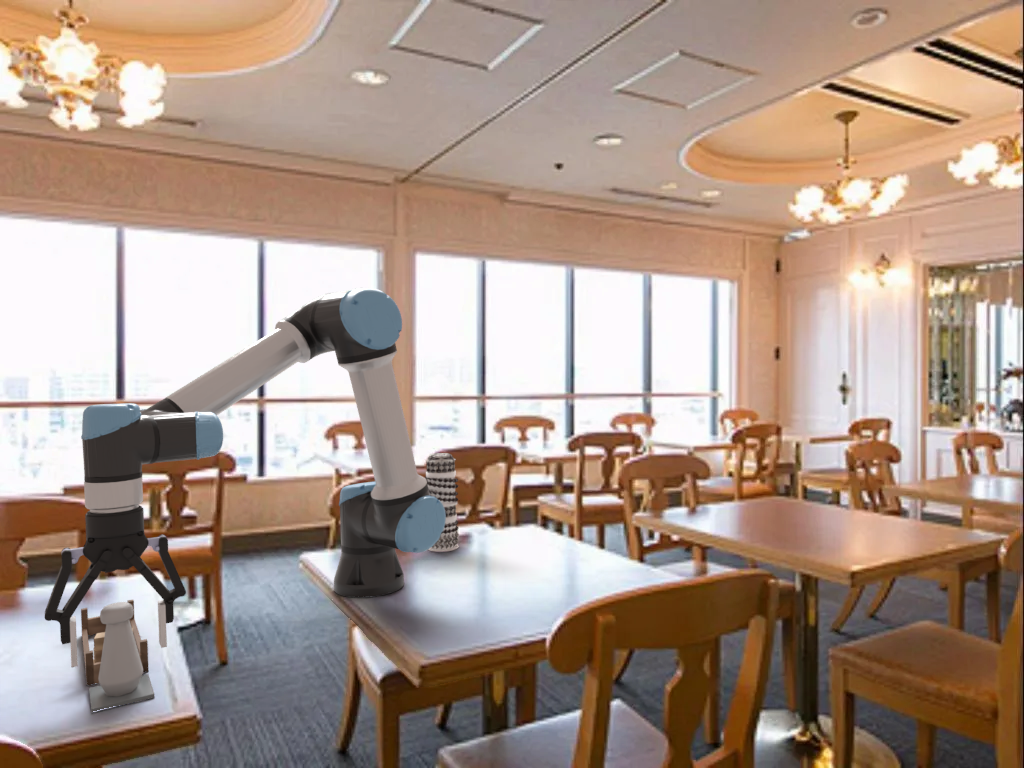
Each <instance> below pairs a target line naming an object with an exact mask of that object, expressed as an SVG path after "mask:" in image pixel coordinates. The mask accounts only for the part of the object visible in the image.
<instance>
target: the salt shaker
mask: <svg viewBox="0 0 1024 768" xmlns="http://www.w3.org/2000/svg"><path fill="white" fill-rule="evenodd" d="M99 616H100V620H101V622H102V624H106V630H105V637H104V644H103V650H102V657H101V664H100V671H99V678H98V680H99V683H98V684H99V686H100V685H101V687H102V688H103V690H104V692H105V694H106V695H107V696H115V697H118V696H122V695H125V694H128V693H131V692H132V691H134V690H135V689H136V688H137V687H138V684H139V682H140V679H141V676H143V675H144V673H143V667H142V663H141V659H140V656H139V652H138V649H137V645H136V642H135V638H134V635H133V631H132V628H131V624H130V620H129V619H131V618H132V617H133V606H132V605H131V604H130V603H128V602H126V601H118V602H114V603H110V604H107V605H106V606H103V608H102V609H101V610H100V614H99Z"/></svg>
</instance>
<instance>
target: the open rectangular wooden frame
mask: <svg viewBox="0 0 1024 768" xmlns="http://www.w3.org/2000/svg"><path fill="white" fill-rule="evenodd" d="M127 602H128V603H130V604H131V605H132V606H133V617H132V618H131V619H129V620H130V624H131V628H133V635H134V638H135V642H136V645H137V649H138V652H139V656H140V659H141V663H142V667H143V674H145V673H149V648H148V647H149V646H148V645H149V644H148V639H147V638H145V639H142V637H141V635H140V632H139V628H138V625H137V622H136V620H135V619H136V618H135V600H134V599H128V600H127ZM88 614H89V612H88V607H85V608H80V621H81V640H82V641H83V642H82V650H83V661H84V662H85V663H84V673H85V681H86V686H87V685H89V686H92V685H91V684H93V685H96V684H95V683H97V684H100V683H99V680H98V678H99V671H100V664H101V662H97V663H93V659H94V649H93V650H90V644H89V643H90V642H89V636H88V635H90V636H93V634H95V635H96V634H97V633H102V632H105V630H106V624H102V622H101V620H100V615H99V616H94V617H92V616H91V617H89V616H88Z"/></svg>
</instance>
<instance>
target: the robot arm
mask: <svg viewBox="0 0 1024 768" xmlns="http://www.w3.org/2000/svg"><path fill="white" fill-rule="evenodd" d="M402 329H403V319H402V313H401V311H400V309H399V306H398V305H397V302H396V301H394V299H393V298H392V297H391V296H390V295H389V294H387V293H385V292H384V291H382V290H380V289H378V288H369V287H368V288H367V287H365V288H363V287H360V288H357V287H356V288H354V289H353V288H352V289H349V290H343V291H336V292H328V293H325V294H322V295H320V296H318V297H316V298H313V299H312V300H310V301H309V302H307V303H306V304H304V305H302V306H300V307H299V308H297V309H295V311H293V312H292V313H290V314H289V315H287V316H286V317H284V318H282V319H280V320H278V321H277V323H276V324H275V327H274V330H273V331H271V332H270V333H268V334H266V335H265V336H263V337H262V338H260V339H258V340H256V341H255V342H253V343H252V344H250V345H248V346H247V347H246V348H243V349H242V350H240V351H238V352H237V353H236V354H234V355H233V356H230V357H229V358H227V359H226V360H224V361H222V362H221V363H220V364H217V365H216V366H214V367H213V368H210V370H208V371H207V372H205V373H204V374H202V375H200V376H199V377H197V378H195V379H193V380H192V381H190V382H188V383H187V384H185V385H184V386H182V387H181V388H179V389H177V390H176V391H174V392H172V393H171V394H169V395H167V396H166V397H164V398H163V399H162V400H160V401H157V402H156V403H155V404H153V405H151V406H149V407H148V408H145V409H143V408H141V409H140V405H138V404H137V403H133V402H132V403H128V402H127V403H104V404H103V403H101V404H93V405H92V404H91V405H89V406H87V407H86V408H85V409H84V410H83V412H82V420H81V421H82V422H81V423H82V425H81V437H80V438H81V440H82V441H81V442H82V456H83V457H82V458H83V472H84V473H83V474H84V475H83V476H84V477H83V478H84V481H83V485H84V487H83V489H84V492H83V494H84V507H85V508H86V509H87V510H88V511H86V513H85V518H84V519H85V543H84V545H83V546H81V547H74V548H70V547H64V548H63V549H62V550H61V552H60V553H61V566H60V568H59V571H58V574H57V576H56V579H55V583H54V585H53V587H52V590H51V593H50V597H49V599H48V601H47V605H46V608H45V611H44V620H45V621H47V622H49V621H50V622H51V621H56V622H58V623H59V625H60V627H59V629H60V630H59V631H60V642H61V643H62V645H65V644H70V664H71V665H70V666H71V667H70V668H74V667H75V668H76V667H78V647H77V646H78V644H77V643H78V641H77V638H78V636H77V618H76V615H74V613H75V612H76V610H77V608H78V607H79V605H80V604H81V602H82V601H83V600H84V597H86V595H87V593H88V592H89V590H90V588H91V587H92V585H93V584H94V582H95V581H96V580H97V578H98V577H99V576H100V574H101V572H102V573H103V572H104V573H105V574H107V573H112V572H115V571H119V570H120V571H126V570H130V569H131V568H132V567H134V568H135V570H136V571H138V573H139V574H140V575H141V576H142V577H143V578H144V580H146V582H147V583H148V584H149V585H150V586H151V587H152V588H153V590H154V591H155V592H156V593H157V594H158V595H159V596H160V597H161V599H160V600H157V612H158V613H157V614H158V615H157V618H158V643H159V645H160V648H161V649H163V648H167V647H168V643H167V642H168V641H167V624H171V623H173V622H174V618H175V616H174V602H175V601H176V599H179V598H180V597H185V596H186V594H187V591H186V588H185V586H184V583H183V581H182V579H181V578H180V575H179V573H178V570H177V568H176V566H175V564H174V562H173V559H172V557H171V555H170V553H169V541H168V540H169V539H168V538H167V536H166V535H165V534H159V535H158V536H155V537H147V536H146V535H145V534H146V533H145V519H144V517H145V516H144V515H145V514H144V507H143V506H141V505H140V504H142V503H143V502H144V492H143V490H144V488H143V487H144V486H143V465H151V464H156V463H157V464H158V463H165V462H166V463H168V462H169V463H170V462H177V461H178V462H179V461H188V460H190V461H191V460H200V459H204V458H210V457H211V458H212V457H215V456H216V455H218V454H219V452H220V451H221V449H222V447H223V442H224V430H223V424H222V422H221V420H220V417H219V415H220V414H221V413H223V412H225V411H226V410H228V409H229V408H231V407H232V406H233V405H235V404H237V403H238V402H239V401H241V400H242V399H244V398H245V397H247V396H248V395H250V394H251V393H253V392H255V391H256V390H258V389H259V388H260V387H262V386H263V385H265V384H266V383H268V382H270V381H271V380H273V379H274V378H276V377H277V376H278V375H281V374H282V373H283V372H285V371H286V370H288V369H289V368H291V367H292V366H294V365H295V364H297V363H301V364H305V363H308V362H309V361H310V360H312V359H314V358H315V357H318V356H320V355H322V354H325V353H331V352H334V353H335V355H336V360H337V364H338V366H340V367H341V368H343V369H344V370H346V371H347V372H348V375H349V379H350V383H351V387H352V388H351V389H352V391H353V395H354V399H355V403H356V408H357V412H358V415H359V420H360V424H361V428H362V432H363V436H364V440H365V441H364V442H365V445H366V448H367V453H368V456H369V460H370V465H371V470H372V473H373V478H374V481H368V482H366V481H365V482H361V483H354V484H353V483H352V484H349V485H345V486H344V487H342V488H341V490H340V493H339V502H338V506H339V517H340V518H339V519H340V525H339V526H340V546H341V548H340V557H339V561H338V564H337V568H336V572H335V574H334V579H333V590H334V592H335V594H337V595H339V596H343V597H348V598H373V597H379V596H385V595H389V594H392V593H394V592H395V593H396V592H397V591H399V590H400V589H402V588H403V587H404V586H405V574H404V570H403V568H402V566H401V563H400V560H399V557H398V554H397V552H396V551H397V550H399V551H401V552H403V553H412V554H413V553H415V554H420V553H423V552H426V551H429V550H428V549H430V548H431V547H432V546H433V545H434V544H435V543H436V542H437V541H438V540H439V538H440V535H441V533H442V532H443V530H444V526H445V521H446V513H445V508H444V506H443V504H442V503H441V501H440V500H438V499H437V498H436V497H434V496H430V493H429V488H428V484H427V480H426V479H425V477H424V476H423V475H420V474H419V473H418V469H417V465H416V461H415V456H414V452H413V448H412V445H411V440H410V435H409V431H408V426H407V423H406V422H407V421H406V418H405V414H404V410H403V405H402V401H401V400H402V399H401V397H400V392H399V388H398V383H397V380H396V374H395V371H394V367H393V359H394V358H395V356H396V355H397V353H398V350H397V346H396V344H397V343H396V342H397V341H398V340H399V338H400V335H401V334H400V333H401V332H402ZM148 546H149V547H151V548H152V550H153V552H157V553H158V555H159V558H160V559H161V561H162V564H163V566H164V569H165V571H166V573H167V575H168V577H169V580H170V581H171V584H172V585H173V589H172V588H171V589H170V590H169V589H168V587H166V585H165V584H164V583H163V582H162V581H161V580H160V578H159V577H158V576H157V575H156V574H155V572H154V571H153V570H152V569H151V568H150V567H149V566H148V565H147V564H146V562H145V561H144V560H143V558H141V556H142V555H143V554H144V552H145V551H146V550H147V548H148ZM81 556H84V557H85V558H86V560H88V561H89V562H90V563H91V564H90V565H89V567H88V569H87V570H86V572H85V573H84V575H83V577H82V578H81V579H80V582H79V583H78V584H77V586H76V588H75V589H74V591H73V592H72V594H71V596H70V597H69V598H68V600H67V602H65V604H64V606H63V608H62V609H59V606H60V603H61V600H62V598H63V594H64V592H65V589H66V586H67V583H68V580H69V577H70V575H71V571H72V567H73V565H75V564H77V563H78V562H79V559H80V557H81Z"/></svg>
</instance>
